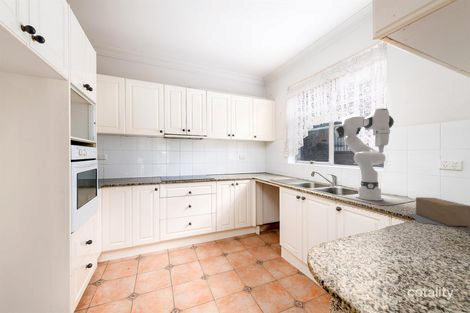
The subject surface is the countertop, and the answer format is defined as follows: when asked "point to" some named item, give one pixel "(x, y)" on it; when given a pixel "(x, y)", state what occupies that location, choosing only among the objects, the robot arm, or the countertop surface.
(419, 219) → the mat
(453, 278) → the countertop surface
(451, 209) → the wooden block
